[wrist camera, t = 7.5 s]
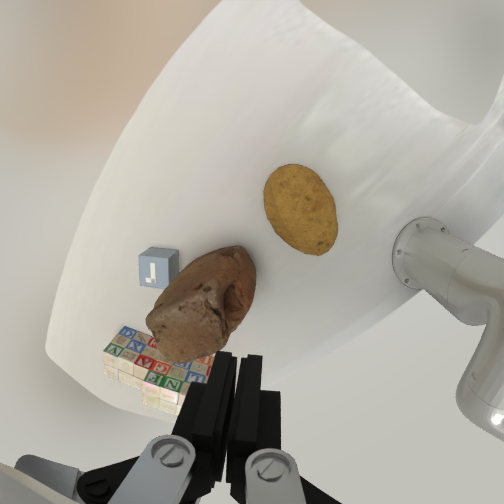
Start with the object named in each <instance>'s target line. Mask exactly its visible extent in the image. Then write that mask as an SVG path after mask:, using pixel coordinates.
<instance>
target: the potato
mask: <svg viewBox="0 0 504 504" xmlns="http://www.w3.org/2000/svg"><path fill="white" fill-rule="evenodd" d="M264 205H265V211H266V214H267V218H268V220H269V221H270V223H271V224H272V226H273V228H274V230H275V232H276V233H277V234H278V235H279V236H280V237H281V238H282V239H283V240H284V241H285V242H286V243H288V244H289V245H290V246H291V247H293V248H295V249H297V250H299V251H301V252H303V253H305V254H310V255H317V256H320V255H322V254H324V253H326V252H328V251H329V249H330V248H331V247H332V246H333V245H334V242H335V240H336V237H337V232H338V224H337V218H336V208H335V203H334V199H333V196H332V195H331V193H330V192H329V190H328V189H327V187H326V186H325V184H324V183H323V181H322V180H321V179H320V177H319V176H318V175H317V174H316V173H315V172H314V171H312V170H311V169H309V168H307V167H305V166H301V165H296V164H288V165H285V166H281V167H279V168H278V169H277V170H276V171H274V172H273V173H272V174H271V175H270V177H269V179H268V180H267V182H266V185H265V188H264Z"/></svg>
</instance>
